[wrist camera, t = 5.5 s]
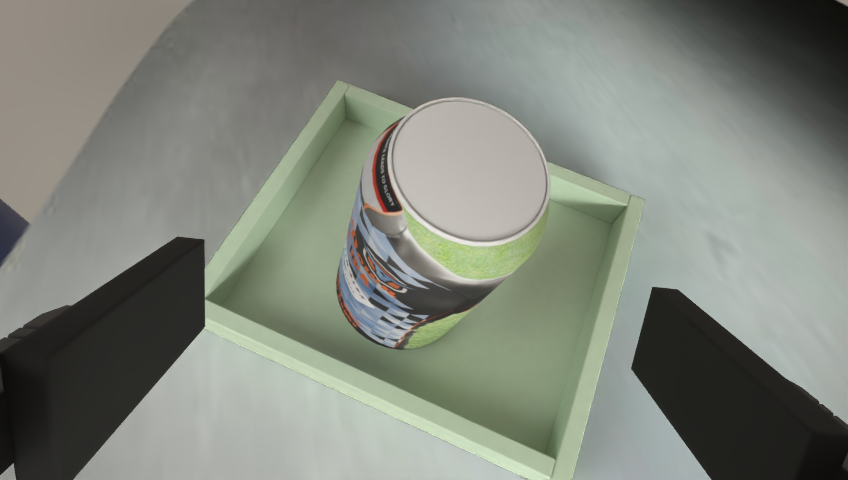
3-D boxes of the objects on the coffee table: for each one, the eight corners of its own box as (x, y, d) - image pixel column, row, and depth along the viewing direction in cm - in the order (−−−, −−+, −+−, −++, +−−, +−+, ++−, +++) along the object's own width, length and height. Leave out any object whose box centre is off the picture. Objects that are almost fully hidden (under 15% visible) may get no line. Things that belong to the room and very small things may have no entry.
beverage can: (355, 228, 27) (343, 44, 16) (495, 257, 27) (575, 90, 16) (322, 346, 24) (282, 214, 13) (479, 379, 24) (565, 272, 13)
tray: (194, 324, 24) (177, 306, 22) (340, 108, 31) (337, 78, 29) (551, 490, 22) (570, 488, 20) (625, 222, 29) (645, 199, 27)
